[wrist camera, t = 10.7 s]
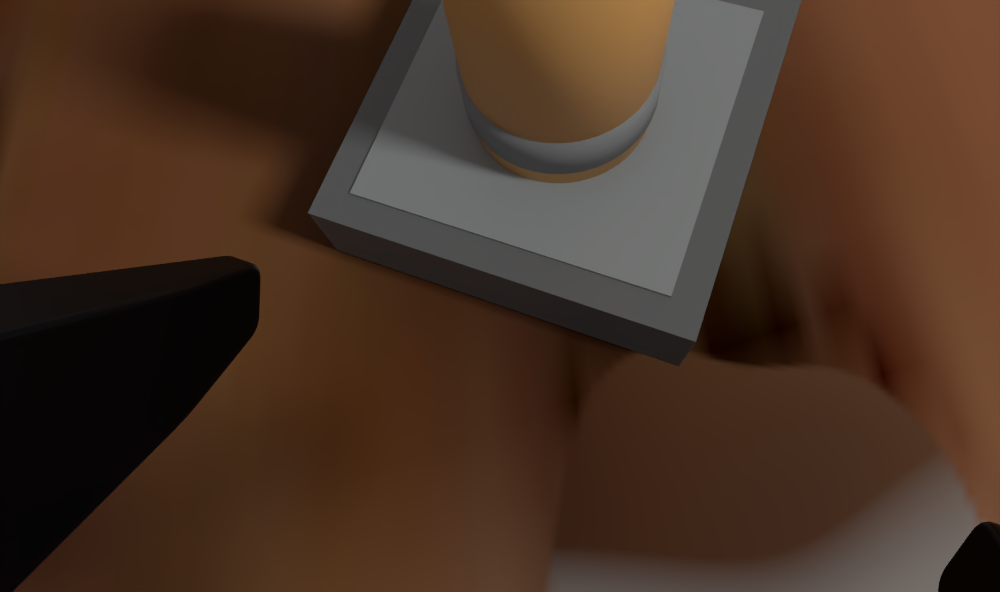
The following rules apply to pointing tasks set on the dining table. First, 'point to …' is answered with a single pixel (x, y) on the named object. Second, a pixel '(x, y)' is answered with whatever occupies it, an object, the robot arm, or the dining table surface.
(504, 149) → the housing
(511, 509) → the dining table surface
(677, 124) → the stand
